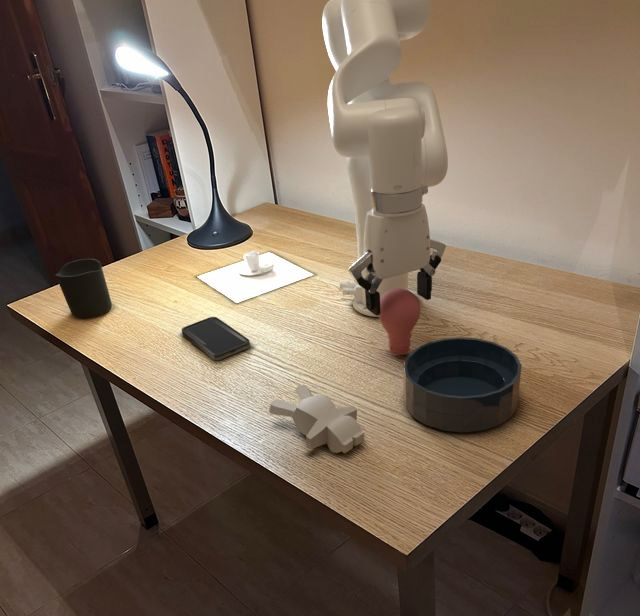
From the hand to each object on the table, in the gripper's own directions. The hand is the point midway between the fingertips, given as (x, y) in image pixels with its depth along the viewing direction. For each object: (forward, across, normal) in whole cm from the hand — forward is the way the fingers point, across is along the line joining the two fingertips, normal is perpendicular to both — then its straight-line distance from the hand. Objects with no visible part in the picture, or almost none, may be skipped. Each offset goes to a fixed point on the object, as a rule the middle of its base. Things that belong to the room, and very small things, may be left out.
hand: (399, 304), depth 105 cm
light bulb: (+10, 0, -1) cm, 10 cm away
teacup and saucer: (+9, +8, -50) cm, 51 cm away
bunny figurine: (+10, +22, +12) cm, 27 cm away
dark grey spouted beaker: (+9, +45, -55) cm, 72 cm away
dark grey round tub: (+10, 0, +17) cm, 20 cm away
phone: (+9, +26, -25) cm, 37 cm away
